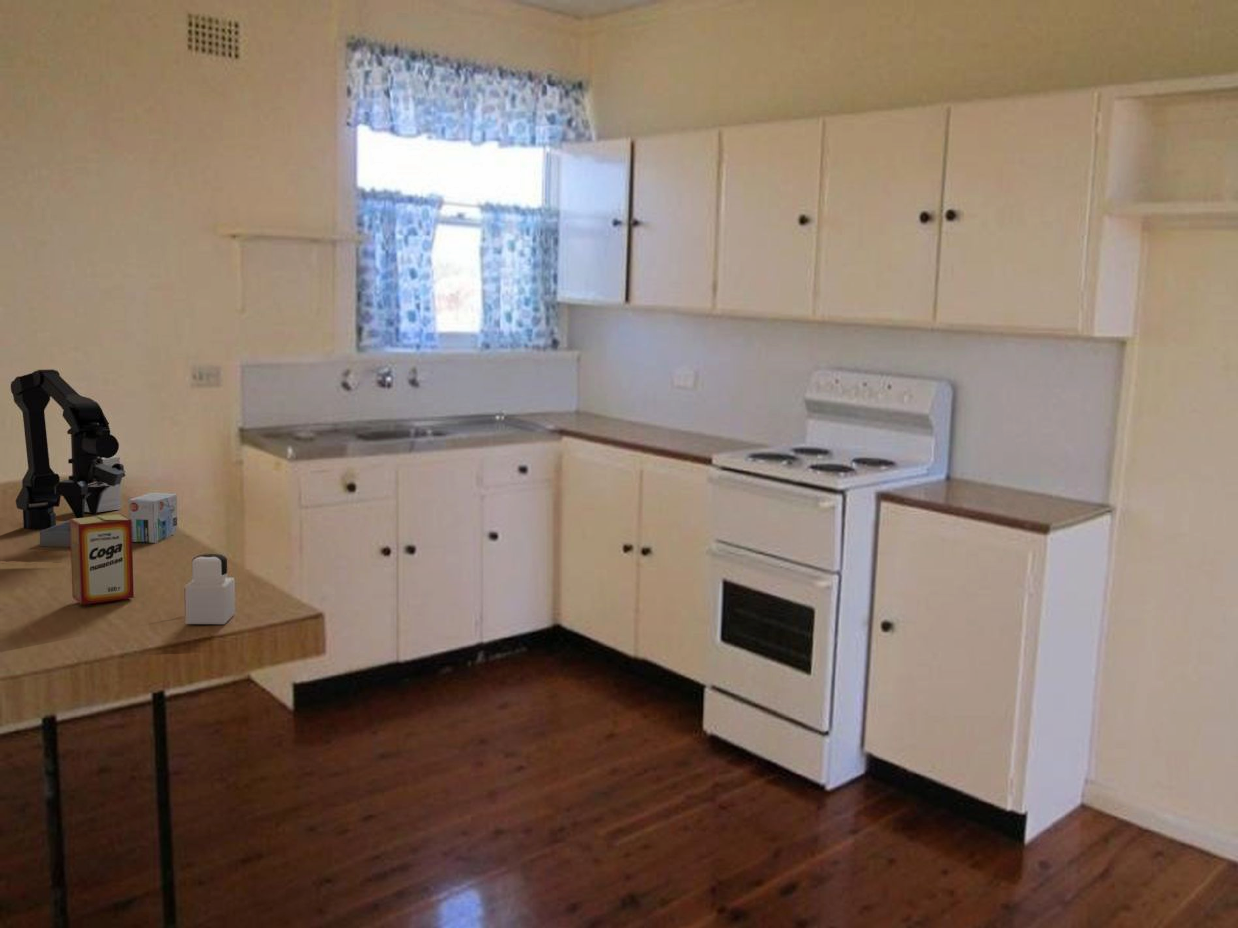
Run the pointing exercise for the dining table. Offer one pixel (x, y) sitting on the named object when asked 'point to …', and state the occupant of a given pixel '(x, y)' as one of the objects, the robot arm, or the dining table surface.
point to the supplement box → (109, 492)
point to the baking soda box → (101, 558)
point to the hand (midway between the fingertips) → (87, 517)
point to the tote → (56, 535)
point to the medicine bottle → (209, 591)
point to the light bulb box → (153, 517)
